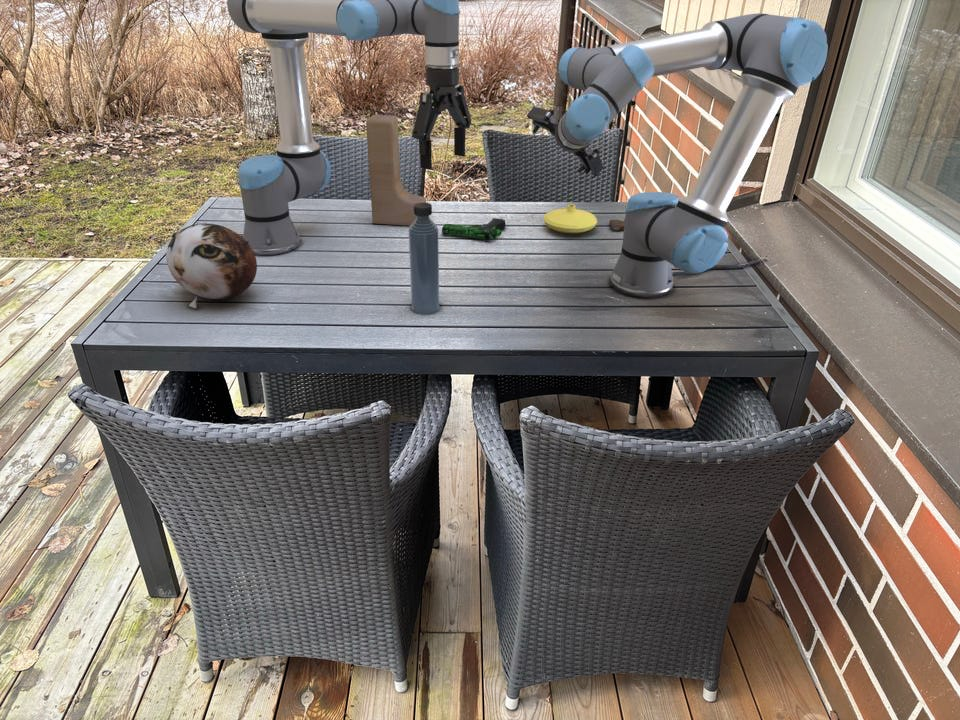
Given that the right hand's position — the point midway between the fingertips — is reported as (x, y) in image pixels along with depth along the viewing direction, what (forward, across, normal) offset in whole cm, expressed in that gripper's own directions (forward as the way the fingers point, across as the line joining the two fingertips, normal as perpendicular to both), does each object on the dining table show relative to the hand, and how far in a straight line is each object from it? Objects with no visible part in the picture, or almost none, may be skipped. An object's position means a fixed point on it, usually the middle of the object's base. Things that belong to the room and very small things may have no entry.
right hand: (559, 147), depth 164 cm
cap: (-12, -15, -31) cm, 36 cm away
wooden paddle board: (+45, +37, +10) cm, 59 cm away
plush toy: (+4, -40, -78) cm, 87 cm away
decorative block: (+50, -22, -37) cm, 66 cm away
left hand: (+6, -19, -19) cm, 28 cm away
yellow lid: (+44, +18, -6) cm, 48 cm away
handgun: (+42, -3, -25) cm, 49 cm away
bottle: (-2, 0, -48) cm, 48 cm away
